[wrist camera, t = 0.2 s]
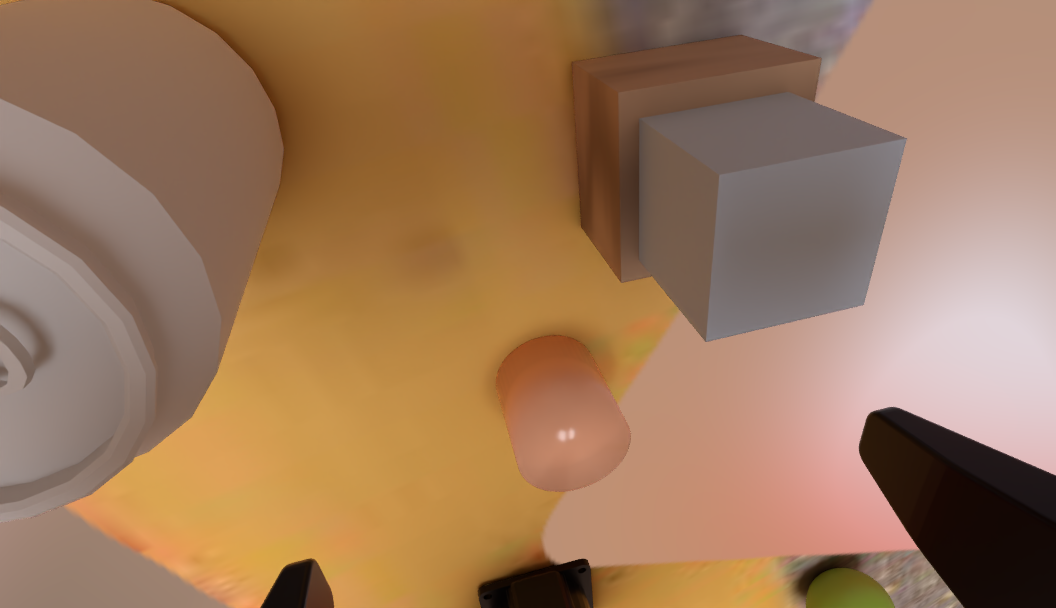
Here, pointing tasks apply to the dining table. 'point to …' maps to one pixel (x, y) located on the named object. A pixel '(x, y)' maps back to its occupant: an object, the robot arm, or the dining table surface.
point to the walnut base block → (653, 89)
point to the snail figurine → (846, 591)
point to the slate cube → (763, 210)
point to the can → (118, 233)
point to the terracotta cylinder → (560, 414)
